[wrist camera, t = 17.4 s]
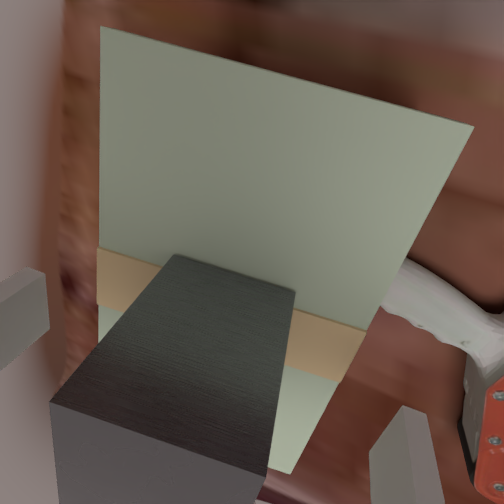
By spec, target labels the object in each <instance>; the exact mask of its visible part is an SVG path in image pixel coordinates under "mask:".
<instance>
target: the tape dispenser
mask: <svg viewBox="0 0 504 504" xmlns="http://www.w3.org/2000/svg"><path fill="white" fill-rule="evenodd" d="M380 306H381V307H382V308H383V309H384V310H385V311H386V312H388V313H391V314H395V315H399V316H401V317H403V318H405V319H407V320H408V321H409V322H410V323H411V324H412V325H413V326H415V327H418V328H421V329H424V330H427V331H429V332H430V333H432V334H433V335H434V336H435V337H436V339H438V340H439V341H441V342H443V343H447V344H451V345H453V346H456V347H458V348H461V349H462V350H464V351H465V352H467V360H466V367H465V375H464V381H463V384H464V389H465V392H466V395H465V399H464V408H463V417H462V418H461V419H460V421H459V422H458V432H459V437H460V441H461V445H462V449H463V453H464V457H465V461H466V466H467V470H468V474H469V478H470V481H471V483H472V485H473V486H474V487H475V489H476V490H477V491H478V492H479V493H480V494H481V495H483V496H484V497H486V498H488V499H490V500H491V501H493V502H495V503H497V504H504V311H503V312H502V313H501V314H491V313H487V312H485V311H484V310H483V309H482V308H480V307H479V306H478V305H477V304H475V303H474V302H473V301H471V300H470V299H469V298H467V297H466V296H465V295H464V294H462V293H461V292H460V291H458V290H457V289H455V288H454V287H453V286H451V285H450V284H449V283H447V282H446V281H444V280H443V279H441V278H440V277H438V276H437V275H435V274H434V273H432V272H430V271H429V270H427V269H425V268H424V267H422V266H421V265H419V264H417V263H415V262H413V261H411V260H410V259H408V258H406V257H405V259H404V261H403V263H402V265H401V267H400V268H399V270H398V272H397V274H396V276H395V278H394V280H393V282H392V283H391V285H390V287H389V289H388V291H387V293H386V295H385V297H384V299H383V300H382V302H381V304H380Z"/></svg>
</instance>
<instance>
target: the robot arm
mask: <svg viewBox="0 0 504 504" xmlns="http://www.w3.org/2000/svg"><path fill="white" fill-rule="evenodd" d="M49 329H50V323H49V312H48V302H47V291H46V280H45V273H42V272H39V271H37V270H33V269H31V268H28V267H25V268H24V269H22V270H21V271H19V272H17V273H15V274H14V275H12V276H11V277H9V278H7V279H5V280H4V281H2V282H1V283H0V371H1V370H2V369H3V368H4V367H6V366H7V365H8V364H9V363H10V362H11V361H13V360H14V359H15V358H16V357H17V356H19V355H20V354H21V353H22V352H23V351H24V350H26V349H27V348H28V347H29V346H30V345H31V344H32V343H34V342H35V341H36V340H37V339H38V338H40V337H41V336H42V335H43V334H44V333H46V332H47V331H48V330H49ZM369 465H370V489H371V504H445V501H444V496H443V491H442V487H441V482H440V477H439V472H438V468H437V463H436V458H435V454H434V449H433V444H432V439H431V435H430V430H429V425H428V420H427V416H426V414H425V413H422V412H419V411H417V410H414V409H411V408H409V407H406V406H403V405H402V407H401V408H400V409H399V411H398V412H397V414H396V415H395V416H394V418H393V419H392V421H391V422H390V423H389V425H388V426H387V428H386V429H385V430H384V432H383V433H382V435H381V436H380V437H379V439H378V440H377V442H376V443H375V444H374V446H373V447H372V449H371V450H370V452H369Z"/></svg>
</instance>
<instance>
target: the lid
mask: <svg viewBox="0 0 504 504" xmlns="http://www.w3.org/2000/svg"><path fill="white" fill-rule="evenodd" d="M473 129H474V126H471V125H469V124H467V123H464V122H460V121H456V120H453V119H449V118H445V117H441V116H438V115H434V114H430V113H427V112H423V111H419V110H415V109H412V108H408V107H404V106H401V105H397V104H393V103H389V102H386V101H382V100H378V99H375V98H371V97H367V96H363V95H360V94H356V93H352V92H349V91H345V90H341V89H337V88H334V87H330V86H326V85H323V84H319V83H315V82H311V81H308V80H304V79H300V78H297V77H293V76H289V75H286V74H282V73H278V72H274V71H271V70H267V69H263V68H260V67H256V66H252V65H248V64H245V63H241V62H237V61H234V60H230V59H226V58H222V57H219V56H215V55H211V54H208V53H204V52H200V51H196V50H193V49H189V48H185V47H182V46H178V45H174V44H170V43H167V42H163V41H159V40H156V39H152V38H148V37H144V36H141V35H137V34H133V33H130V32H126V31H122V30H118V29H115V28H109V27H103V26H100V179H99V247H98V248H97V304H99V342H100V341H101V340H102V338H103V337H104V336H105V335H106V334H107V333H108V331H109V330H110V329H111V328H112V327H113V325H114V324H115V323H116V322H117V321H118V320H119V318H120V317H121V316H122V315H123V314H124V312H125V311H126V310H127V309H128V308H129V306H130V305H131V304H132V303H133V302H134V301H135V299H136V298H137V297H138V296H139V295H140V293H141V292H142V291H143V290H144V289H145V288H146V286H147V285H148V284H149V283H150V282H151V280H152V279H153V278H154V277H155V276H156V275H157V273H158V272H159V271H160V270H161V269H162V267H163V266H164V265H165V264H166V263H167V261H168V260H169V259H170V258H171V257H172V256H173V254H175V255H178V256H181V257H185V258H188V259H191V260H194V261H197V262H201V263H204V264H207V265H210V266H213V267H216V268H220V269H223V270H226V271H229V272H232V273H236V274H239V275H242V276H245V277H248V278H252V279H255V280H258V281H261V282H264V283H268V284H271V285H274V286H277V287H280V288H284V289H287V290H290V291H293V292H296V294H295V300H294V306H293V313H292V319H291V325H290V331H289V337H288V344H287V350H286V356H285V362H284V369H283V375H282V381H281V387H280V393H279V400H278V406H277V412H276V418H275V425H274V431H273V437H272V443H271V449H270V456H269V462H268V467H270V468H273V469H275V470H278V471H281V472H284V473H287V474H291V472H292V470H293V468H294V466H295V464H296V463H297V461H298V459H299V457H300V455H301V453H302V451H303V449H304V448H305V446H306V444H307V442H308V440H309V438H310V436H311V434H312V432H313V431H314V429H315V427H316V425H317V423H318V421H319V419H320V417H321V415H322V414H323V412H324V410H325V408H326V406H327V404H328V402H329V400H330V398H331V397H332V395H333V393H334V391H335V389H336V387H337V385H338V383H340V382H341V381H342V379H343V377H344V375H345V373H346V371H347V369H348V367H349V366H350V364H351V362H352V360H353V358H354V356H355V354H356V352H357V351H358V349H359V347H360V345H361V343H362V341H363V339H364V338H365V336H366V334H367V329H368V327H369V325H370V323H371V321H372V319H373V317H374V316H375V314H376V312H377V310H378V308H379V306H380V304H381V302H382V300H383V299H384V297H385V295H386V293H387V291H388V289H389V287H390V285H391V283H392V282H393V280H394V278H395V276H396V274H397V272H398V270H399V268H400V267H401V265H402V263H403V261H404V259H405V257H406V255H407V253H408V251H409V250H410V248H411V246H412V244H413V242H414V240H415V238H416V236H417V234H418V233H419V231H420V229H421V227H422V225H423V223H424V221H425V219H426V218H427V216H428V214H429V212H430V210H431V208H432V206H433V204H434V202H435V201H436V199H437V197H438V195H439V193H440V191H441V189H442V187H443V185H444V184H445V182H446V180H447V178H448V176H449V174H450V172H451V170H452V168H453V167H454V165H455V163H456V161H457V159H458V157H459V155H460V153H461V152H462V150H463V148H464V146H465V144H466V142H467V140H468V138H469V136H470V135H471V133H472V131H473ZM99 342H98V343H99Z"/></svg>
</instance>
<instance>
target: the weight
mask: <svg viewBox="0 0 504 504" xmlns="http://www.w3.org/2000/svg"><path fill="white" fill-rule="evenodd" d="M295 294H296V292H293V291H290V290H287V289H284V288H280V287H277V286H274V285H271V284H268V283H264V282H261V281H258V280H255V279H252V278H248V277H245V276H242V275H239V274H236V273H232V272H229V271H226V270H223V269H220V268H216V267H213V266H210V265H207V264H204V263H201V262H197V261H194V260H191V259H188V258H185V257H181V256H178V255H175V254H173V256H172V257H171V258H170V259H169V260H168V261H167V263H166V264H165V265H164V266H163V267H162V269H161V270H160V271H159V272H158V273H157V275H156V276H155V277H154V278H153V279H152V280H151V282H150V283H149V284H148V285H147V286H146V288H145V289H144V290H143V291H142V292H141V293H140V295H139V296H138V297H137V298H136V299H135V301H134V302H133V303H132V304H131V305H130V306H129V308H128V309H127V310H126V311H125V312H124V314H123V315H122V316H121V317H120V318H119V320H118V321H117V322H116V323H115V324H114V325H113V327H112V328H111V329H110V330H109V331H108V333H107V334H106V335H105V336H104V337H103V338H102V340H101V341H100V342H99V343H98V344H97V346H96V347H95V348H94V349H93V350H92V351H91V353H90V354H89V355H88V356H87V357H86V359H85V360H84V361H83V362H82V363H81V364H80V366H79V367H78V368H77V369H76V370H75V372H74V373H73V374H72V375H71V376H70V378H69V379H68V380H67V381H66V382H65V383H64V385H63V386H62V387H61V388H60V389H59V391H58V392H57V393H56V394H55V395H54V396H53V398H52V399H51V400H50V401H49V406H50V416H51V426H52V435H53V445H54V455H55V466H56V475H57V486H58V495H59V504H254V502H255V500H256V498H257V495H258V493H259V491H260V489H261V487H262V485H263V483H264V481H265V479H266V474H267V468H268V462H269V456H270V449H271V443H272V437H273V431H274V425H275V418H276V412H277V406H278V400H279V393H280V387H281V381H282V375H283V369H284V362H285V356H286V350H287V344H288V337H289V331H290V325H291V319H292V313H293V306H294V300H295Z"/></svg>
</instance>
